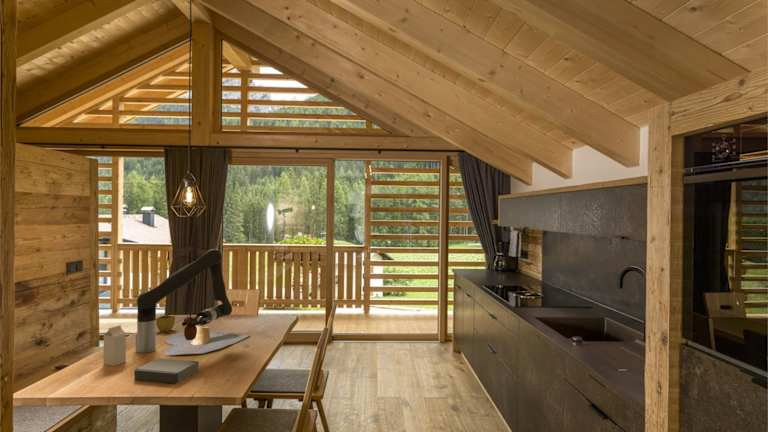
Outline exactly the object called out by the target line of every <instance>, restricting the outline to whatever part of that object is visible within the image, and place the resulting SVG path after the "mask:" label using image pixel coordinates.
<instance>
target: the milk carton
mask: <svg viewBox="0 0 768 432" xmlns="http://www.w3.org/2000/svg"><path fill="white" fill-rule="evenodd" d="M126 336H127V334H126V332H125V331H124V330H123V328H122V324H120V325H115V326H112V327H108V330H107V332H106V333H105V334H104V335H103V365H107V366H113V367H115V366H117V365H121V364H123V363H126V361H127V360H126V359H127V357H126V356H127V355H126V354H127V349H126V348H127V346H126V345H127V339H126Z"/></svg>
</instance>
